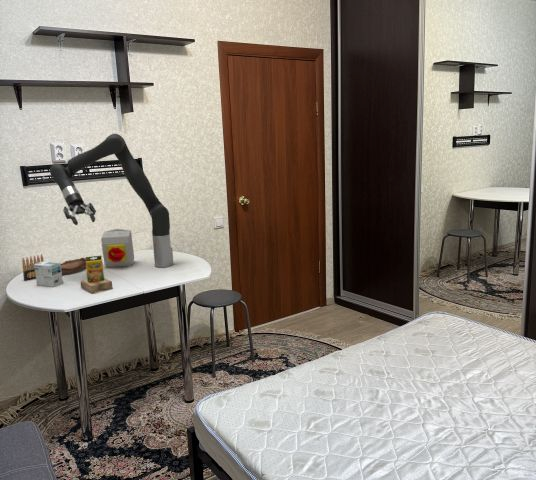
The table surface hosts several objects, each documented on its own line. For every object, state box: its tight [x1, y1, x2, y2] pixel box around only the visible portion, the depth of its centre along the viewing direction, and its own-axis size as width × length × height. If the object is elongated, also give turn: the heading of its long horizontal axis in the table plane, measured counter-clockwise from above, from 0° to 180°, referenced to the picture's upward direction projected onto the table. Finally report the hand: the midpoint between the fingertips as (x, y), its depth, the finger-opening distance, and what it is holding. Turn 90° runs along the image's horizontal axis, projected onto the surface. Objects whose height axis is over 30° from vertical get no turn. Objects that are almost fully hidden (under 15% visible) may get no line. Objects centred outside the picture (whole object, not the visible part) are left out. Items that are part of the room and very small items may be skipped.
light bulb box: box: [33, 260, 64, 288], centre depth 243 cm, size 11×7×11 cm, turn 71°
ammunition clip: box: [21, 254, 45, 282], centre depth 253 cm, size 11×2×12 cm, turn 131°
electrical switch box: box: [100, 228, 135, 268], centre depth 271 cm, size 15×15×20 cm
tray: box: [79, 277, 113, 295], centre depth 235 cm, size 10×12×4 cm
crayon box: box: [85, 255, 105, 282], centre depth 234 cm, size 7×3×12 cm, turn 114°
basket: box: [61, 257, 86, 276], centre depth 268 cm, size 22×20×5 cm
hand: (85, 222), depth 241 cm, fingers open, 8 cm apart
